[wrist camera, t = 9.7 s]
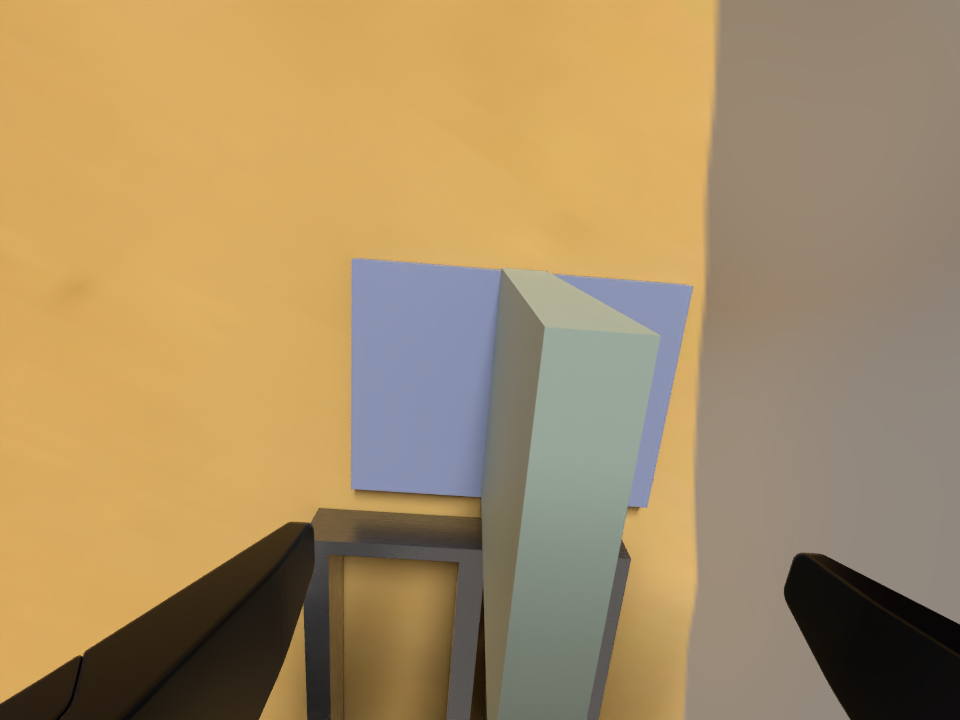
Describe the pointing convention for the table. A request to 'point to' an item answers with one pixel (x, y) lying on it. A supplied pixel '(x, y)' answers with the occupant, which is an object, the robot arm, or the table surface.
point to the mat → (465, 371)
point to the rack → (416, 542)
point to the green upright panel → (556, 488)
